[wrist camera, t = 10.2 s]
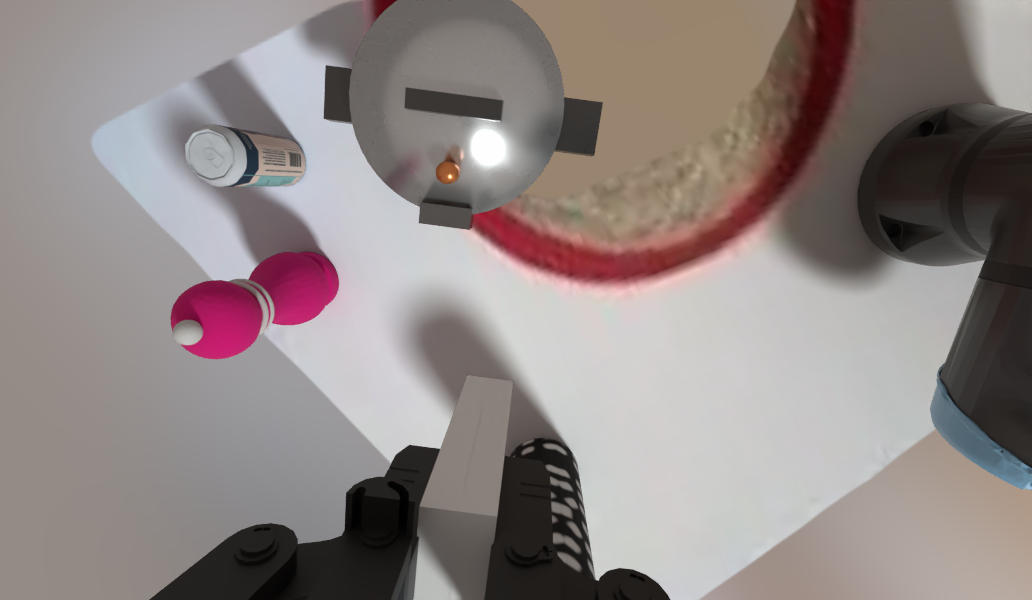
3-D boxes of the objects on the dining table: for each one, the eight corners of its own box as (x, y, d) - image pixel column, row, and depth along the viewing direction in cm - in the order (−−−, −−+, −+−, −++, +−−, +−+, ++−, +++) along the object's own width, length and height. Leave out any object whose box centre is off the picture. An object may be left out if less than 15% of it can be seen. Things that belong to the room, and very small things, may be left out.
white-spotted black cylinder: (495, 453, 56) (475, 594, 37) (560, 427, 55) (575, 559, 36) (524, 510, 58) (519, 675, 38) (588, 486, 57) (617, 643, 37)
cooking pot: (598, 58, 46) (618, 20, 35) (573, 216, 50) (584, 224, 39) (370, 28, 46) (321, -20, 36) (362, 187, 50) (314, 188, 39)
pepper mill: (268, 255, 52) (109, 297, 32) (331, 239, 51) (207, 273, 32) (291, 318, 53) (152, 395, 34) (352, 304, 53) (247, 373, 33)
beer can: (279, 127, 49) (200, 109, 37) (317, 159, 49) (251, 152, 38) (253, 164, 50) (167, 158, 38) (291, 195, 50) (218, 199, 39)
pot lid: (579, 4, 35) (582, -9, 32) (545, 236, 39) (545, 242, 37) (359, -25, 35) (344, -41, 32) (351, 210, 39) (337, 214, 37)
